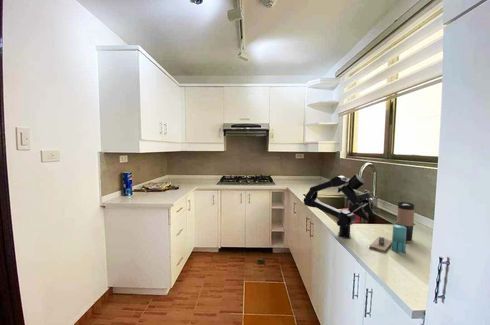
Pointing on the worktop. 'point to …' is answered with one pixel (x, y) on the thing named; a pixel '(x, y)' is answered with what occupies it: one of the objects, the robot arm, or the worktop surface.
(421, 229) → the worktop surface
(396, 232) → the teal cap
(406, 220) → the travel mug
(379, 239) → the brown block with knob
